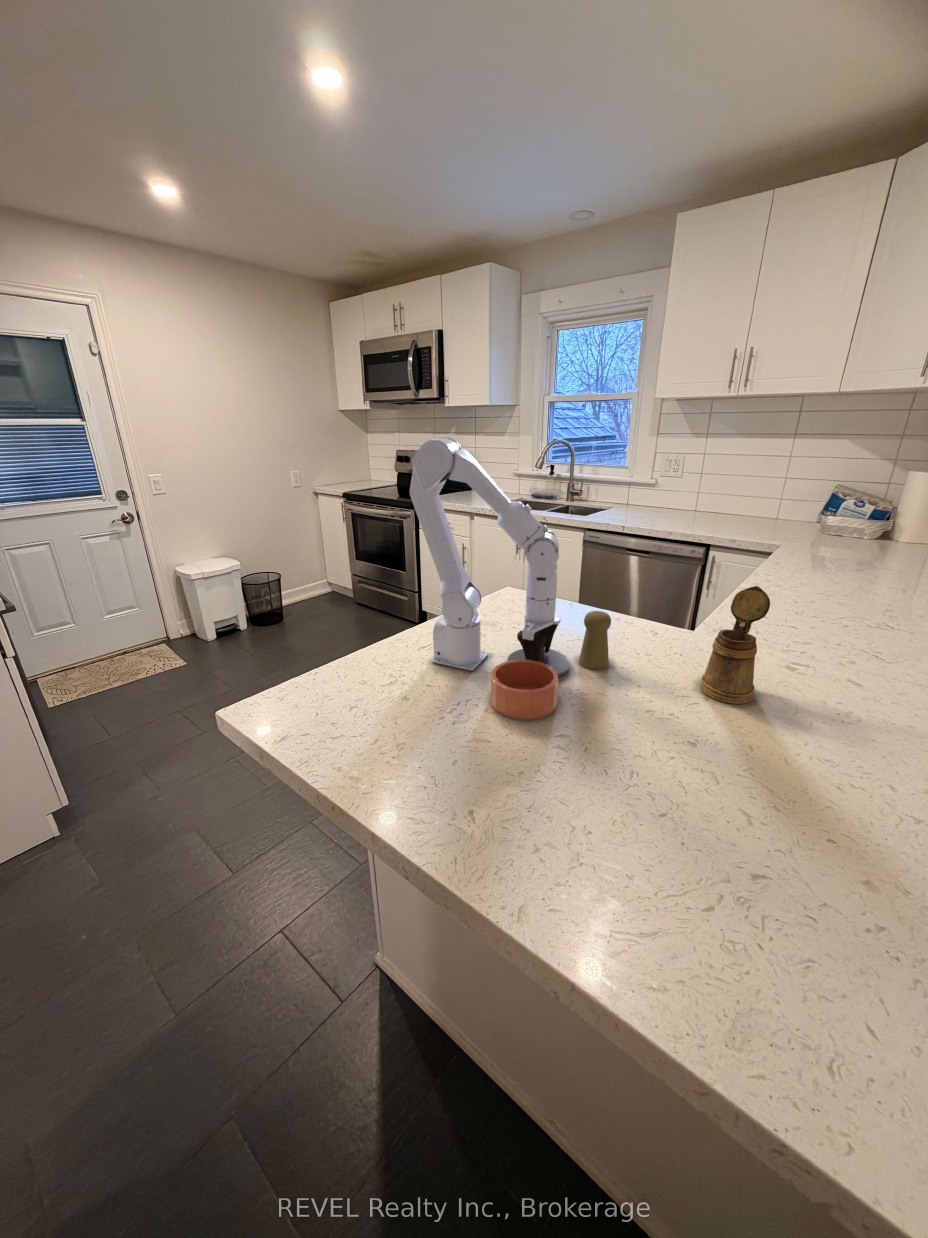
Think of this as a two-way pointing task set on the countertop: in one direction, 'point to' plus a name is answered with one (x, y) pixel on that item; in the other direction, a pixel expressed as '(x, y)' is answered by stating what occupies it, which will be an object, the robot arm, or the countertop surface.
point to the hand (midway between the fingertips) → (538, 658)
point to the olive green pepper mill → (595, 641)
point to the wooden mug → (736, 651)
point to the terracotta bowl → (524, 689)
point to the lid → (546, 659)
